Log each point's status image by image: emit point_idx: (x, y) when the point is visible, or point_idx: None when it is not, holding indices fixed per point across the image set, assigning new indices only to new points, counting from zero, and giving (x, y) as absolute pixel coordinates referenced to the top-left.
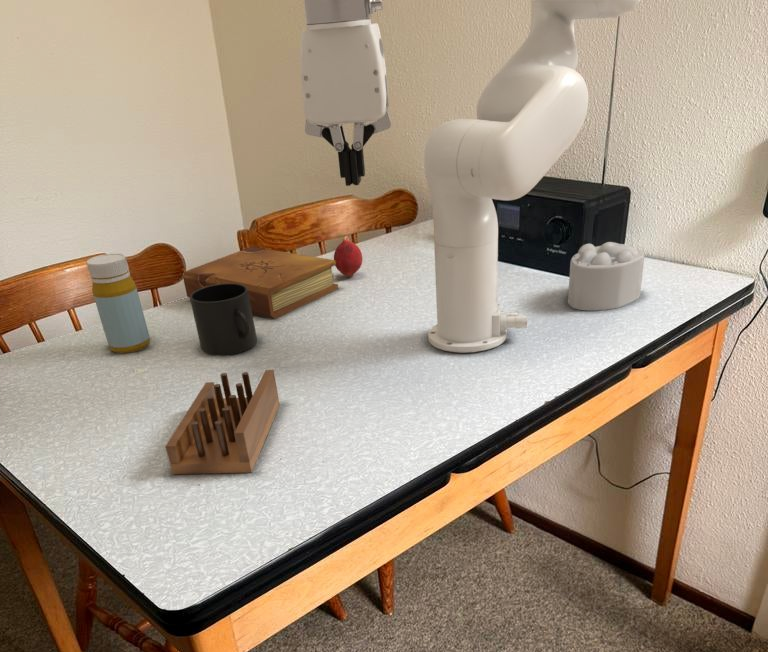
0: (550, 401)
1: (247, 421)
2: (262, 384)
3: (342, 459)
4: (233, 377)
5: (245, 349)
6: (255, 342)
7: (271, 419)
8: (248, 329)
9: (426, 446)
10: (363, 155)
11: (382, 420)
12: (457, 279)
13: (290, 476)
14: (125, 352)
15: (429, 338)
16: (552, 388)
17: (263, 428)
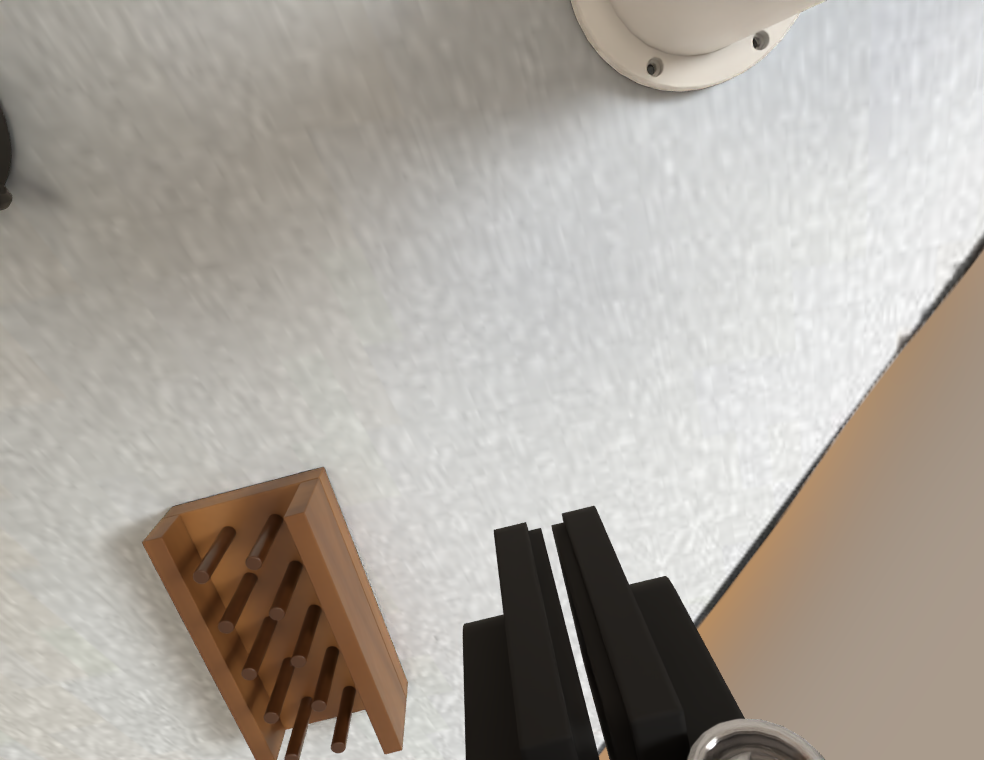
0: (911, 335)
1: (386, 718)
2: (323, 585)
3: None
4: (107, 350)
5: (7, 173)
6: (2, 115)
7: (351, 545)
8: (3, 207)
9: (682, 549)
10: (726, 687)
11: (574, 480)
12: (781, 4)
13: None
14: None
15: (581, 20)
16: (920, 271)
17: (370, 608)
